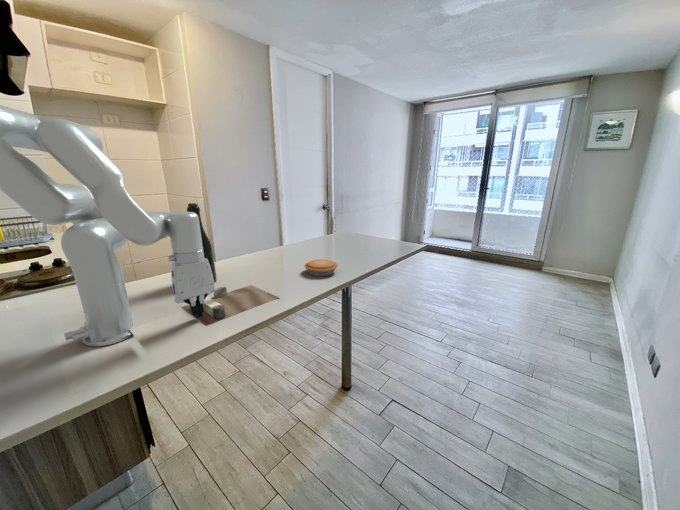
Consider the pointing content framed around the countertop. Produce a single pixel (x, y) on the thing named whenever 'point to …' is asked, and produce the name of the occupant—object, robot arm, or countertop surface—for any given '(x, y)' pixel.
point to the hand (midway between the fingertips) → (198, 315)
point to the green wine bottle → (204, 240)
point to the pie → (321, 267)
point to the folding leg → (213, 308)
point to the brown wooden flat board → (235, 302)
